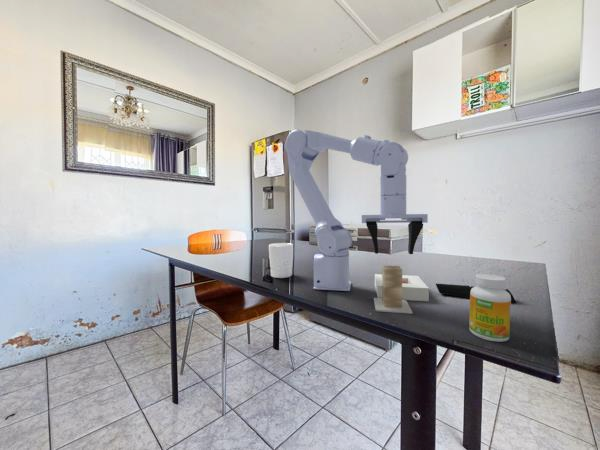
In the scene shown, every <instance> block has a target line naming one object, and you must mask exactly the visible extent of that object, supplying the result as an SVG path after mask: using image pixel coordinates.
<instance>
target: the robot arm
mask: <svg viewBox="0 0 600 450" xmlns="http://www.w3.org/2000/svg"><path fill="white" fill-rule="evenodd" d="M283 149H284V150H285V153H286V155H287V165H288V166H287V167H288V172H289V174H290V176H291V178H292V181H293V183H294V185H295V187H296V189H297V190H298V192H299V194H300V196H301V198H302V200H303V202H304V204H305V206H306V208H307V210H308V211H309V213H310V215H311V218H312V219H313V221H314V223H315V225H316V226H315V229H314V235H315V236H316V240H317V241H316V242H317V247H318V249H319V250H320V251H319V252H321V253H315V254H314V257H313V289H314V290H319V291H320V290H322V291H340V292H343V291H344V292H350V291H351V284H352V282H351V280H350V252H349V248H350V247H351V246H352V244H353V236H352V233H351V232H350V231H349V230H348V229H346V228H345V227H344V226H343V224H342V222H341V221H340V220H339V219H337V218H336V217H335V216H334V214H333V213H332V211H331V209H330V207H329V205H328V203H327V200H326V199H325V197H324V196H323V193H322V192H321V190H320V188H319V186H318V185H317V184H318V183H316V181H315V179H314V177H313V175H312V173H311V171H310V169H311V168H312V165H313V164H314V162H315V160H316V159H317V157H318V156H319V154H320V153H321V154H322V153H324V152H325V151H326V150H332V151H337V152H341V153H346V154H349V155H350V156H351V158H352V160H353V161H356V162H360V163H365V164H368V165H372V166H375V167H377V166H380V182H379V183H380V214H363V215H362V214H361V224H366V227H367V230H368V232H369V235H370V238H371V240H372V243H373V247H374V254H379V243H378V224H389V223H390V224H393V223H395V224H396V223H397V224H398V223H400V224H401V223H402V224H403V223H404V224H405V223H408V224H407V230H408V247H407V249H408V250H407V253H408V254H409V255H414V249H415V246H416V244H417V240H418V237H419V236H420V233H421V231H422V230H423V227H424V223H427V224H428V220H429V219H428V213H416V214H415V213H408V214H407V175H406V173H407V167H406V166H407V163H408V161H409V154H408V151H407V150H406V149H405V148H404V147H403V146H402V145H401V144H400V143H398V142H396V141H394V142H393V141H390V140H388V139H384V140H378V139H372V137H371V136H370V135H368V134H367V135H366V134H364V136H358V137H356V138H354V139H353V140H350V139H347V138H343V137H339V136H335V135H332V134H328V133H323V132H320V131H314V130H309V129H305V130H304V131H303V130H301V129H298V128H297V129H293V130H292V131H290V132H289V134H288V135H287V137H286V139H285V143H284V147H283ZM386 219H394V220H386ZM395 219H400V220H395Z"/></svg>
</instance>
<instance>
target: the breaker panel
mask: <svg viewBox="0 0 600 450" xmlns="http://www.w3.org/2000/svg"><path fill="white" fill-rule="evenodd" d="M402 279H403V280H405V281H406V284H405V283H402V300H406V301H414V302H415V301H419V302H429V301H430V299H429V298H430V295H429V294H430V288H429V286H428V285H427V284H425V282H424V281H423V280H422V279H421V278H420V276H419V275H408V274H406V275H404V274H402ZM374 288H375V291H376V296H377V297H376V298H382V274H380V273H379V274H378V273H374Z"/></svg>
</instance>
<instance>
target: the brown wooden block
mask: <svg viewBox="0 0 600 450" xmlns="http://www.w3.org/2000/svg"><path fill="white" fill-rule="evenodd" d="M402 275H403V269H402V267H401V266H400V265H382V302H383V304H384V307H398V308H402Z"/></svg>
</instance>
